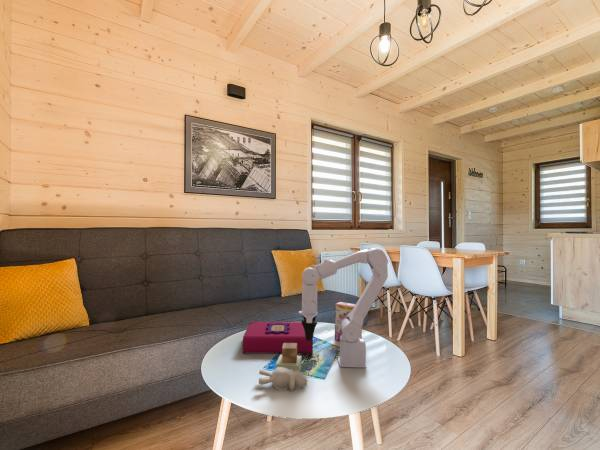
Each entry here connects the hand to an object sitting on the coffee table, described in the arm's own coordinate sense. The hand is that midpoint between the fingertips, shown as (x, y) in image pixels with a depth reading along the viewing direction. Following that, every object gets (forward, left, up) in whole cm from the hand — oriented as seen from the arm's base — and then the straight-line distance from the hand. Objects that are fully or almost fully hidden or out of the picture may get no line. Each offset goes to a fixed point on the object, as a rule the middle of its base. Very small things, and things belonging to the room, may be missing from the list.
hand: (309, 336), depth 116 cm
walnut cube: (+7, +6, -6) cm, 11 cm away
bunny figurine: (+8, +18, -10) cm, 22 cm away
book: (+13, -17, -10) cm, 23 cm away
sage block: (+7, +6, -10) cm, 13 cm away
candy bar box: (-17, -22, -10) cm, 29 cm away
